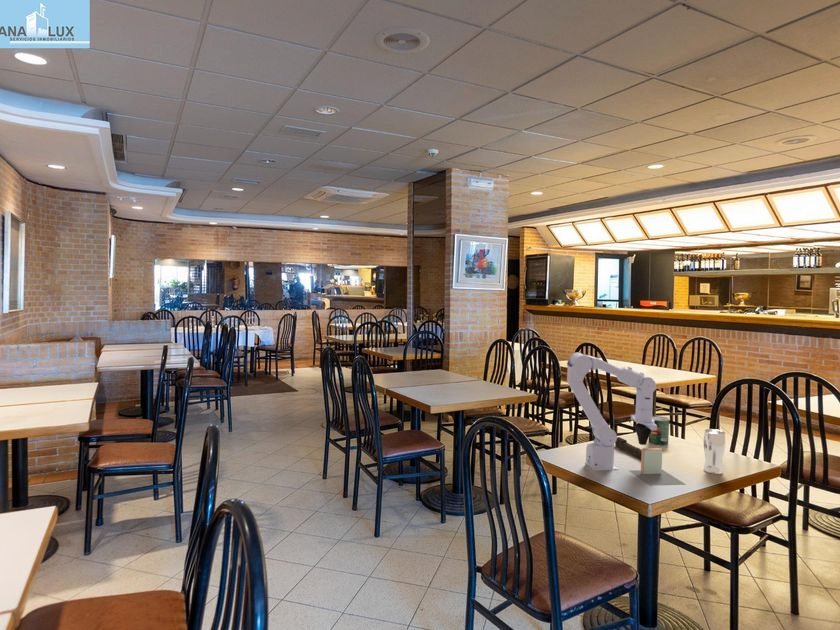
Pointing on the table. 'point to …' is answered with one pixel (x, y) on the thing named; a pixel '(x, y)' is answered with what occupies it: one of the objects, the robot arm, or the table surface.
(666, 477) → the mat
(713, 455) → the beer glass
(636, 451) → the hand tool
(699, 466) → the table surface
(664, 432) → the canned tomato
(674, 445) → the table surface
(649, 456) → the tile
